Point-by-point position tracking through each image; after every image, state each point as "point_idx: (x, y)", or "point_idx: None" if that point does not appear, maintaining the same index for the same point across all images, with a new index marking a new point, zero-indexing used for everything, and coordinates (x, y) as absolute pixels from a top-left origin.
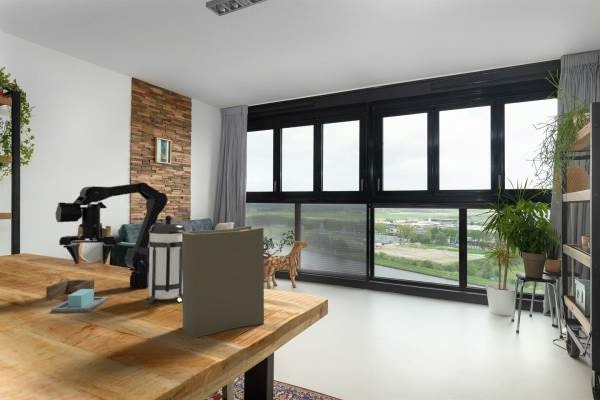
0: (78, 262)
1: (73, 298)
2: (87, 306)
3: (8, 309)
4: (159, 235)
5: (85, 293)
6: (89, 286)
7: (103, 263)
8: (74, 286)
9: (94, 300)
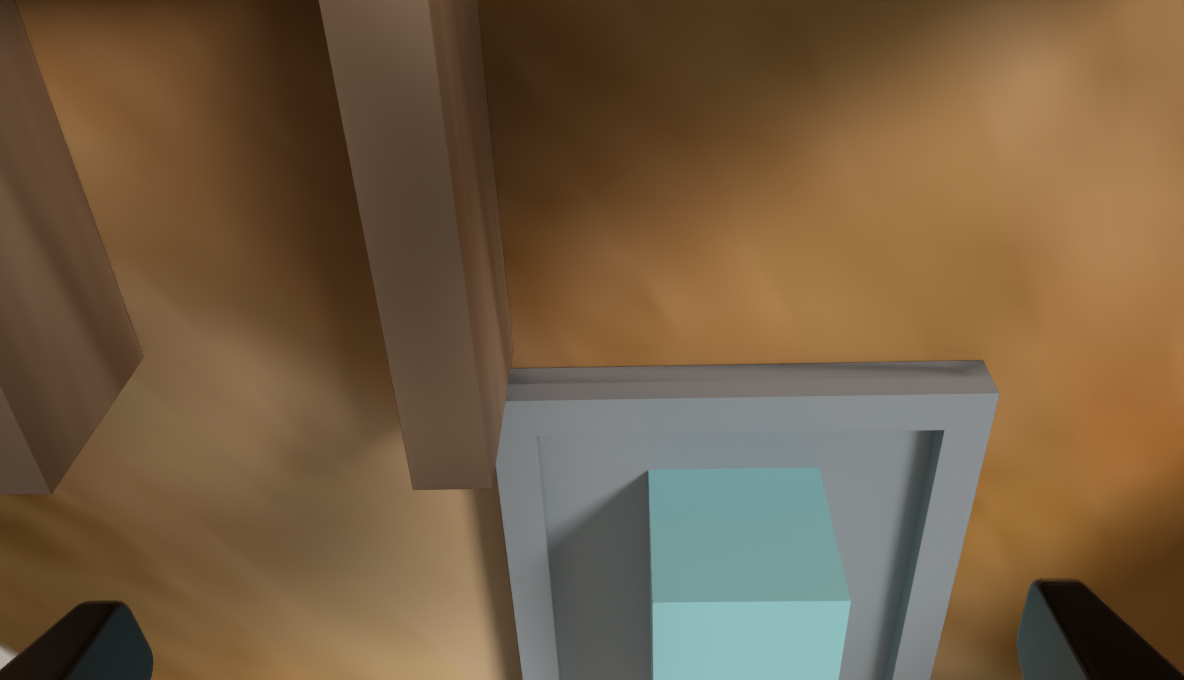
0: (109, 645)
1: None
2: None
3: (8, 634)
4: None
5: None
6: (450, 1)
7: (1025, 658)
8: (410, 449)
9: (825, 455)
